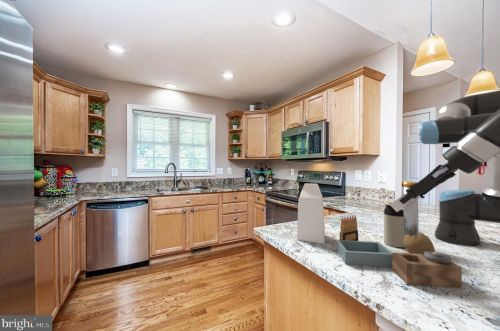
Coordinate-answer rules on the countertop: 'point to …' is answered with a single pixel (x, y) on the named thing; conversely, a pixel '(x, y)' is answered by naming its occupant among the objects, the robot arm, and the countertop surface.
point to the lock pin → (410, 213)
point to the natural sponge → (418, 244)
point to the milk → (311, 215)
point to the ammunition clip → (349, 229)
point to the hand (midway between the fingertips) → (396, 207)
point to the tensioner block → (427, 269)
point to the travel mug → (393, 226)
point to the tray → (364, 253)
